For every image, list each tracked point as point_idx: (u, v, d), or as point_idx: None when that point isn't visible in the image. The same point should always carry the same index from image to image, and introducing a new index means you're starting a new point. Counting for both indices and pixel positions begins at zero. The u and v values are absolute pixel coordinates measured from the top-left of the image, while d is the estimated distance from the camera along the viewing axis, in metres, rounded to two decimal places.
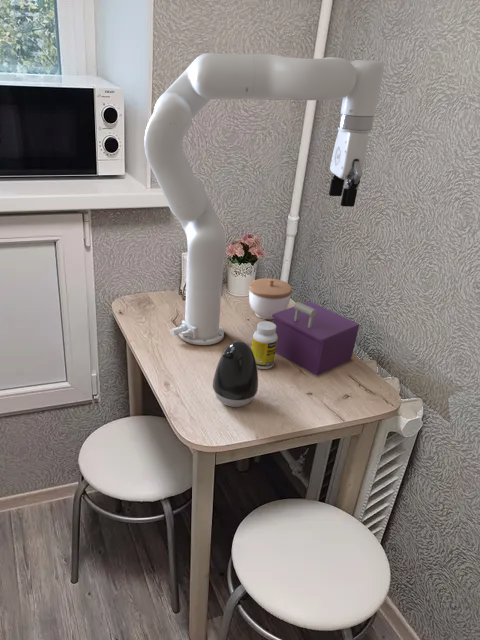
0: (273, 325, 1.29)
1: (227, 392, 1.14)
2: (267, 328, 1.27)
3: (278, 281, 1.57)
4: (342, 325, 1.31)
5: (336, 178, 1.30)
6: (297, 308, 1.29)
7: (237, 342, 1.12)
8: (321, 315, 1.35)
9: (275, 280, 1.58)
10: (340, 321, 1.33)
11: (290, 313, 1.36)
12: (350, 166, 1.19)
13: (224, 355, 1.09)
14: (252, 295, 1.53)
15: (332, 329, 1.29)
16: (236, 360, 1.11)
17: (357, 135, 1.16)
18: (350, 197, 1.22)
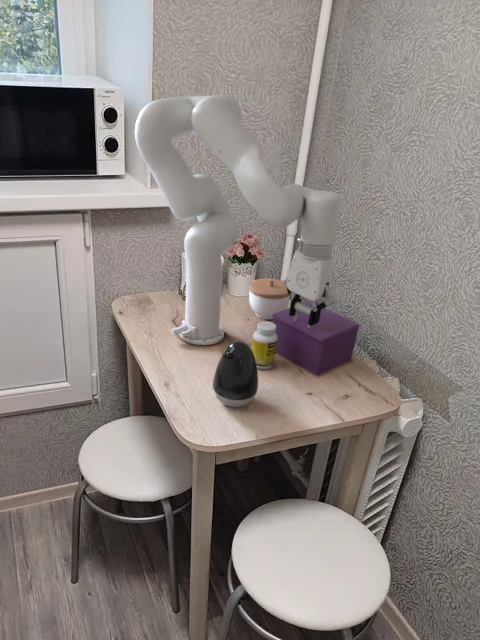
0: (273, 325, 1.29)
1: (227, 392, 1.14)
2: (267, 328, 1.27)
3: (278, 281, 1.57)
4: (342, 325, 1.31)
5: (296, 298, 1.29)
6: (297, 308, 1.29)
7: (237, 342, 1.12)
8: (321, 315, 1.35)
9: (275, 280, 1.58)
10: (340, 321, 1.33)
11: None
12: (323, 290, 1.21)
13: (224, 355, 1.09)
14: (252, 295, 1.53)
15: (332, 329, 1.29)
16: (236, 360, 1.11)
17: (327, 262, 1.18)
18: (317, 317, 1.26)
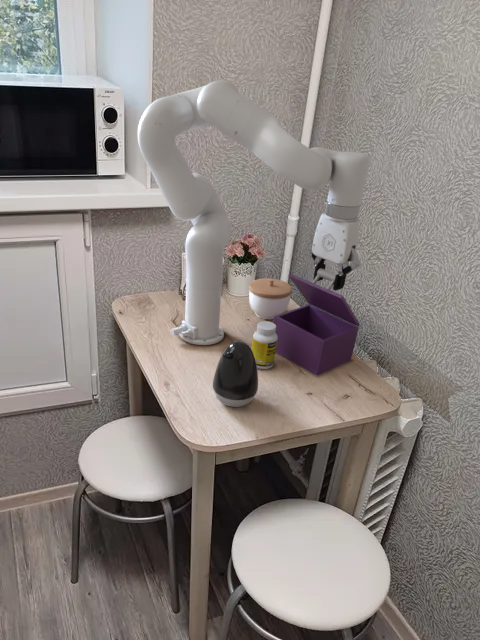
0: (273, 325, 1.29)
1: (227, 392, 1.14)
2: (267, 328, 1.27)
3: (278, 281, 1.57)
4: None
5: (320, 264, 1.29)
6: (321, 271, 1.28)
7: (237, 342, 1.12)
8: None
9: (275, 280, 1.58)
10: None
11: None
12: (349, 253, 1.21)
13: (224, 355, 1.09)
14: (252, 295, 1.53)
15: None
16: (236, 360, 1.11)
17: (354, 223, 1.18)
18: (342, 281, 1.26)
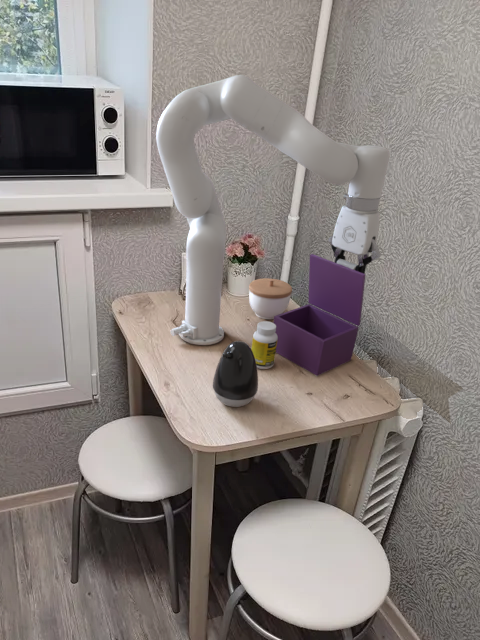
0: (273, 325, 1.29)
1: (227, 392, 1.14)
2: (267, 328, 1.27)
3: (278, 281, 1.57)
4: None
5: (340, 255, 1.33)
6: (342, 260, 1.32)
7: (237, 342, 1.12)
8: None
9: (275, 280, 1.58)
10: None
11: None
12: (370, 244, 1.24)
13: (224, 355, 1.09)
14: (252, 295, 1.53)
15: None
16: (236, 360, 1.11)
17: (375, 215, 1.21)
18: (363, 272, 1.30)
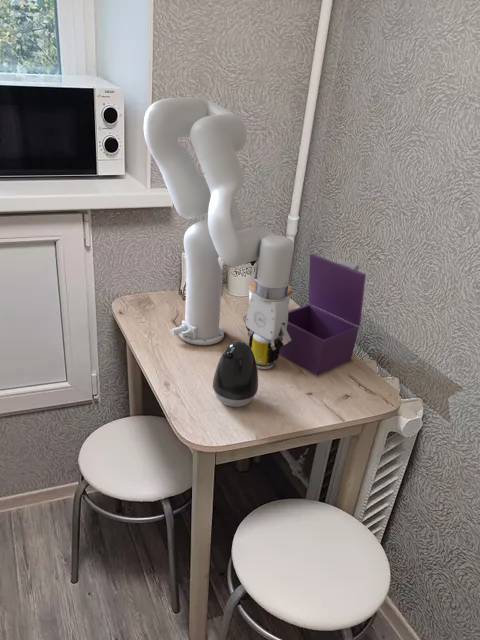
0: None
1: (227, 392, 1.14)
2: None
3: None
4: None
5: None
6: (342, 260, 1.32)
7: (237, 342, 1.12)
8: None
9: None
10: None
11: None
12: (279, 330, 1.24)
13: (224, 355, 1.09)
14: None
15: None
16: (236, 360, 1.11)
17: (282, 303, 1.21)
18: (276, 355, 1.29)
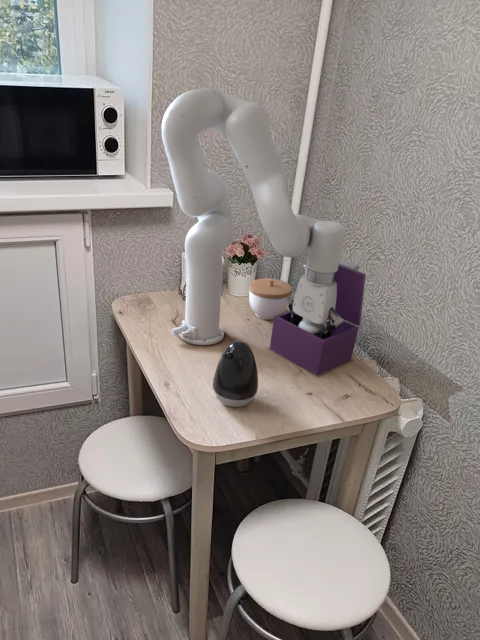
0: None
1: (227, 392, 1.14)
2: None
3: (278, 281, 1.57)
4: None
5: (296, 316, 1.36)
6: (342, 260, 1.32)
7: (237, 342, 1.12)
8: None
9: (275, 280, 1.58)
10: None
11: None
12: (327, 314, 1.27)
13: (224, 355, 1.09)
14: (252, 295, 1.53)
15: None
16: (236, 360, 1.11)
17: (332, 288, 1.24)
18: None
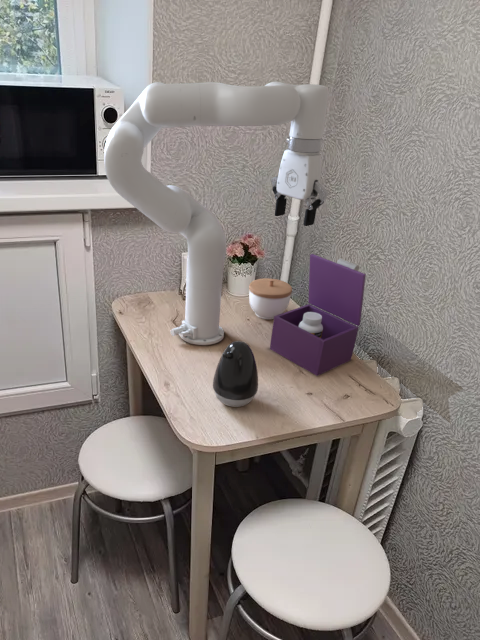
0: (319, 315, 1.33)
1: (227, 392, 1.14)
2: (314, 318, 1.31)
3: (278, 281, 1.57)
4: None
5: (280, 198, 1.31)
6: (342, 260, 1.32)
7: (237, 342, 1.12)
8: None
9: (275, 280, 1.58)
10: None
11: None
12: (312, 187, 1.22)
13: (224, 355, 1.09)
14: (252, 295, 1.53)
15: None
16: (236, 360, 1.11)
17: (316, 157, 1.19)
18: (313, 216, 1.26)
